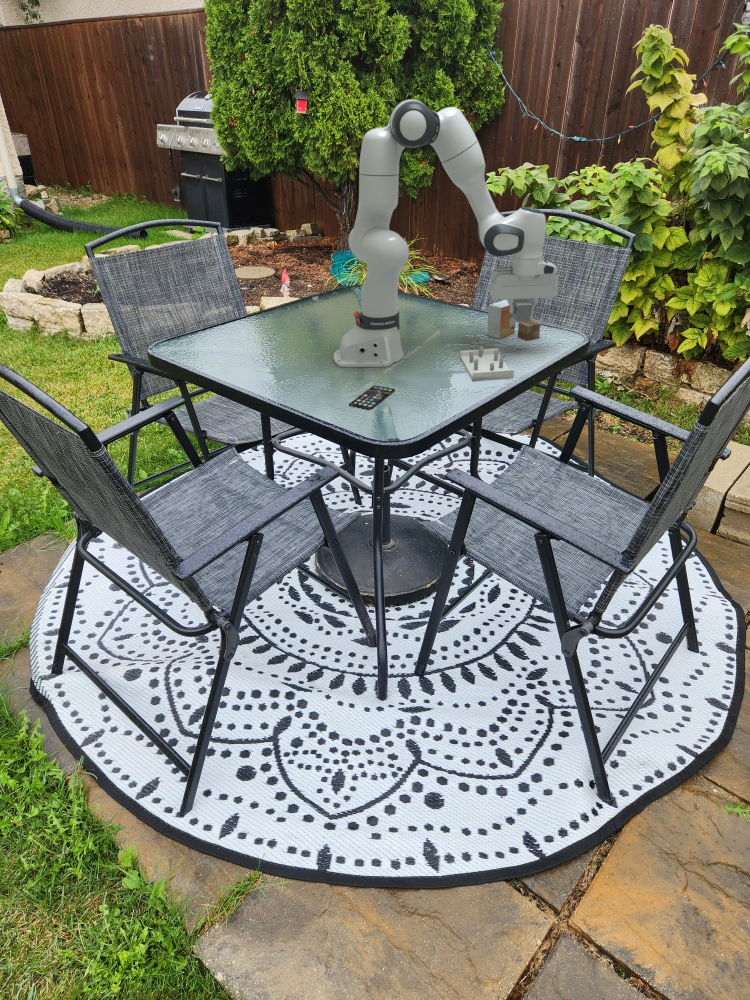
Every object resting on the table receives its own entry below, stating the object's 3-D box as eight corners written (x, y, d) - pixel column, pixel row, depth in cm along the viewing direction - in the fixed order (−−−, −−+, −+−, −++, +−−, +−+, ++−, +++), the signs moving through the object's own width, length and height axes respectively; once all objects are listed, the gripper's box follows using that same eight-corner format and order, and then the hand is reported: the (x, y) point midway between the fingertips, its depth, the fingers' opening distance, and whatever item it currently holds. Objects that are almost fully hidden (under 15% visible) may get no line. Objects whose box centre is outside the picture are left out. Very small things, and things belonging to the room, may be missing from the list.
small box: (499, 339, 222) (501, 307, 216) (486, 335, 226) (488, 304, 220) (515, 333, 226) (517, 302, 221) (502, 329, 230) (504, 299, 224)
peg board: (472, 380, 194) (473, 367, 192) (460, 358, 209) (460, 346, 207) (513, 377, 195) (514, 364, 193) (497, 355, 210) (498, 343, 208)
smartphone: (396, 389, 191) (370, 409, 180) (396, 391, 191) (370, 411, 180) (373, 384, 194) (347, 404, 183) (374, 387, 194) (347, 407, 184)
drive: (517, 321, 204) (518, 305, 201) (510, 314, 211) (511, 297, 208) (530, 321, 204) (532, 304, 201) (523, 313, 211) (524, 297, 208)
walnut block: (526, 341, 220) (527, 326, 217) (517, 337, 224) (518, 322, 221) (539, 338, 221) (540, 323, 219) (529, 334, 225) (531, 319, 223)
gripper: (494, 270, 195) (490, 317, 202) (562, 267, 196) (556, 314, 204) (489, 265, 200) (485, 310, 208) (555, 262, 202) (549, 308, 209)
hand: (521, 312), depth 206 cm, fingers closed on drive, 4 cm apart
